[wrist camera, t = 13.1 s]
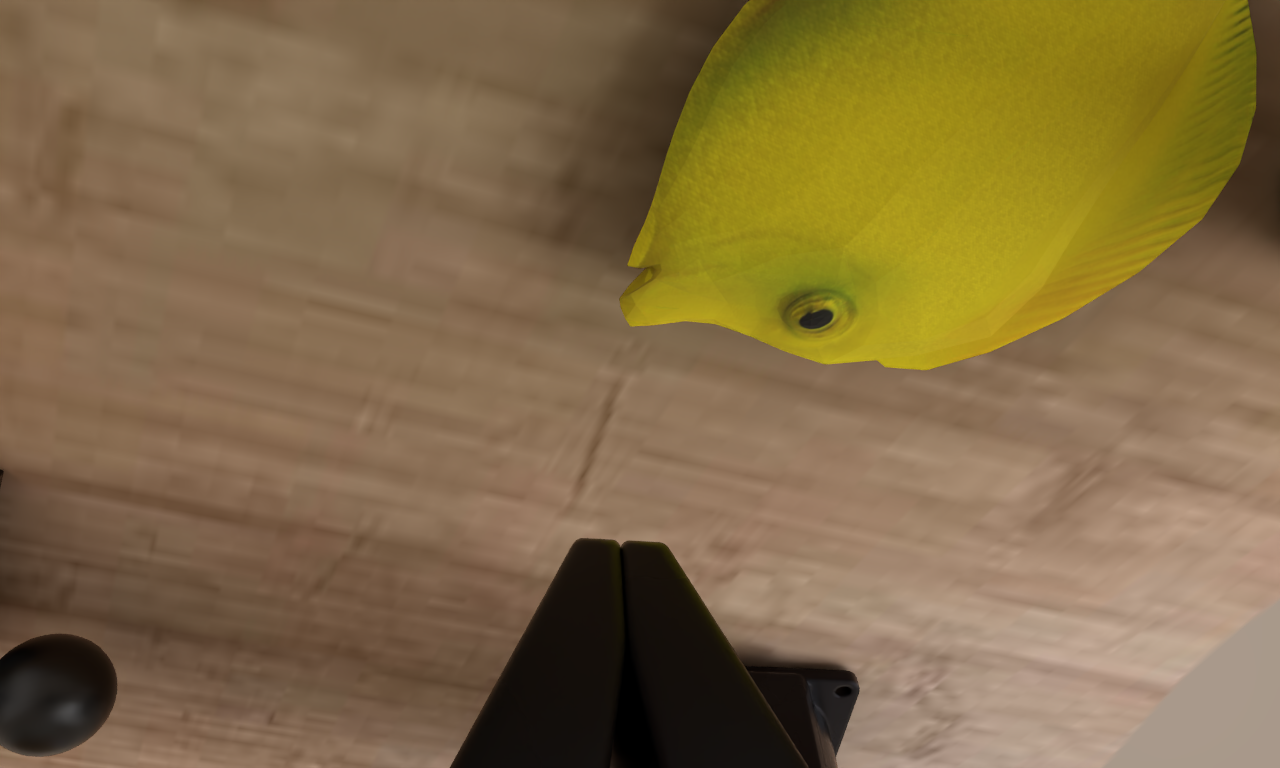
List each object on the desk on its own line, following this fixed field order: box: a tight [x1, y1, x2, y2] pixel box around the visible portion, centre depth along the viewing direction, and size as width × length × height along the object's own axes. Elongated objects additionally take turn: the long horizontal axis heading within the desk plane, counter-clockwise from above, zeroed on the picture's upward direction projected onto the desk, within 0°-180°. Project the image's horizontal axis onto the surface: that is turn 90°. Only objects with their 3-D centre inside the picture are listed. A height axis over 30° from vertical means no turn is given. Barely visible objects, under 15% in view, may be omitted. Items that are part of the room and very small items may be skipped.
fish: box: [619, 0, 1257, 370], centre depth 19 cm, size 3×16×10 cm
